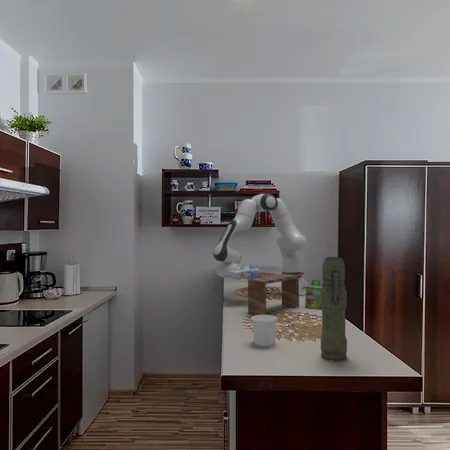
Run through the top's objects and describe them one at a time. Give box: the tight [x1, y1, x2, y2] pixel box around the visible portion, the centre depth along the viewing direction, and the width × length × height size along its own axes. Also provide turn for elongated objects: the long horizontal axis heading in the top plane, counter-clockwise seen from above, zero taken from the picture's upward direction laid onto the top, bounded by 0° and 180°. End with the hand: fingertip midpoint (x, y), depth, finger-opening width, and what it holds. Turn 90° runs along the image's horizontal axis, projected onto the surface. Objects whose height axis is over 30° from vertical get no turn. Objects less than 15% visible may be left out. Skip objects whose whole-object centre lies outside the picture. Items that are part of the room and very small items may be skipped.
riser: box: [247, 273, 300, 316], centre depth 207 cm, size 30×10×18 cm, turn 133°
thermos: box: [320, 256, 348, 362], centre depth 137 cm, size 9×12×35 cm
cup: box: [250, 314, 278, 347], centre depth 153 cm, size 10×10×10 cm
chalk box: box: [304, 279, 322, 310], centre depth 214 cm, size 9×9×15 cm
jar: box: [248, 263, 259, 279], centre depth 218 cm, size 5×5×12 cm
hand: (254, 274), depth 217 cm, fingers closed on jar, 5 cm apart
